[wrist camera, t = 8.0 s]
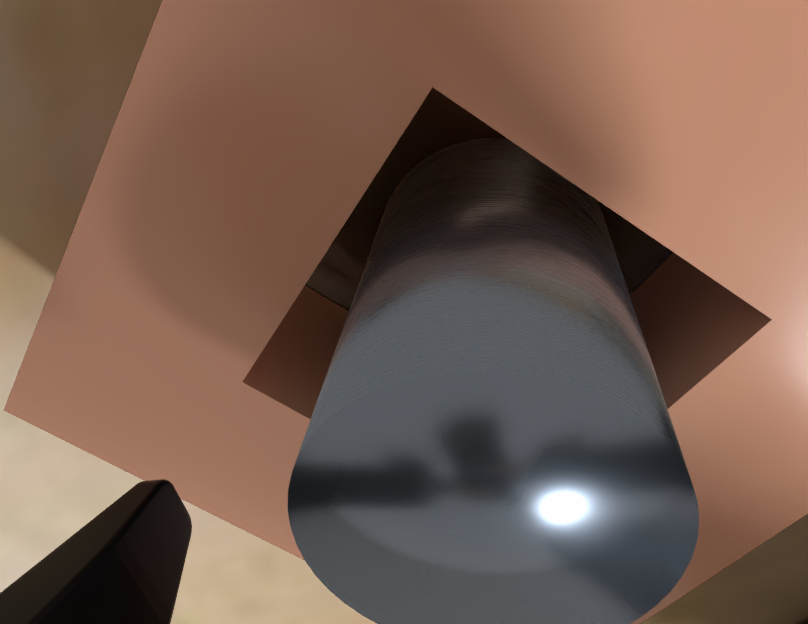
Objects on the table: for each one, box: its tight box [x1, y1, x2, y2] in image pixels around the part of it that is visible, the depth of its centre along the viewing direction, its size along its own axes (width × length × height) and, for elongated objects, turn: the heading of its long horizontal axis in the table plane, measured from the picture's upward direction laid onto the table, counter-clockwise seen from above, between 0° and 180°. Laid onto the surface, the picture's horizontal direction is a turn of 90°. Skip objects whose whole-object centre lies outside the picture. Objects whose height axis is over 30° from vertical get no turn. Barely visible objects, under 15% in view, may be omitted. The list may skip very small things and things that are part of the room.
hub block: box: [4, 0, 808, 624], centre depth 14 cm, size 14×14×4 cm
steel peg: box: [287, 138, 699, 624], centre depth 12 cm, size 5×5×8 cm
